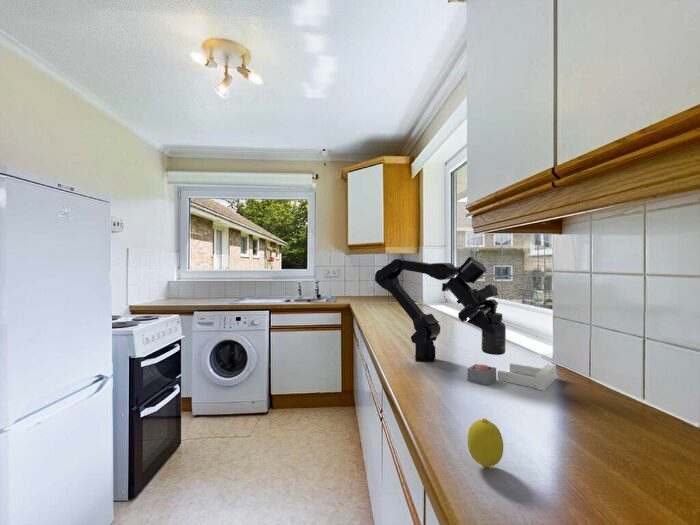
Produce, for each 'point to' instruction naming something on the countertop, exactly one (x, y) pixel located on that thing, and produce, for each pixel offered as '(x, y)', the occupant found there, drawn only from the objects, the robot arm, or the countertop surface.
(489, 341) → the supplement bottle
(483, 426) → the lemon
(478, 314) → the robot arm
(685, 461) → the countertop surface
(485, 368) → the plunger
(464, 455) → the countertop surface
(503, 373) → the white u-shaped frame
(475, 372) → the plunger block
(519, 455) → the countertop surface
